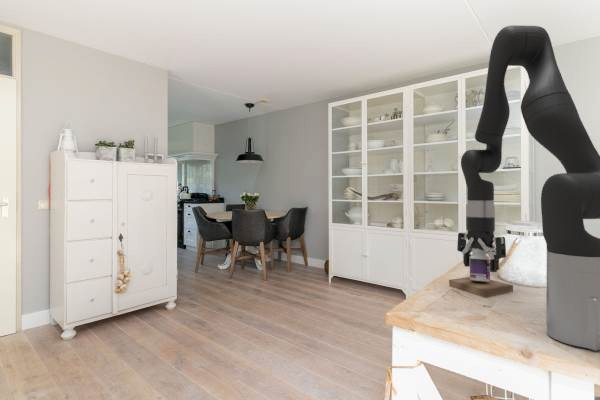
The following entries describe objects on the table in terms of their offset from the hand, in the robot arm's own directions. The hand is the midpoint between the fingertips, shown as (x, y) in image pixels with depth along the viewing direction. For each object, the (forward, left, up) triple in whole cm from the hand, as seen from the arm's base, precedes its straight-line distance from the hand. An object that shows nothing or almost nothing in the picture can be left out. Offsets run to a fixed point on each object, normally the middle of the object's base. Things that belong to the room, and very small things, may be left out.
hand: (480, 269), depth 96 cm
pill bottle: (0, 0, -4) cm, 4 cm away
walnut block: (0, 0, -7) cm, 7 cm away
